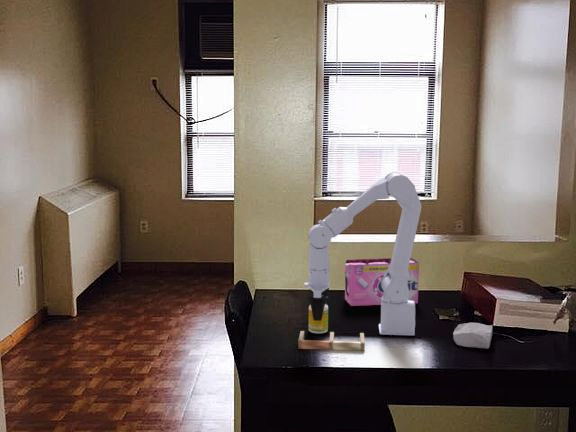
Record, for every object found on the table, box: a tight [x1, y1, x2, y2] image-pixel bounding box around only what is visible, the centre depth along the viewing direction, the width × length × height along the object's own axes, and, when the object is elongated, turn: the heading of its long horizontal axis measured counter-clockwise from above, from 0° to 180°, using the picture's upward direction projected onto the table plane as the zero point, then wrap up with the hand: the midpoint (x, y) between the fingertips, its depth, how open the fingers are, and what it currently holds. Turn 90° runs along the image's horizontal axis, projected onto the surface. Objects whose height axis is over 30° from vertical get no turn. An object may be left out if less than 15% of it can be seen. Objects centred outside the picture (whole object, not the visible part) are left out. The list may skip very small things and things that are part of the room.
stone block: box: [452, 322, 493, 350], centre depth 171 cm, size 12×5×10 cm
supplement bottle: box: [308, 303, 329, 335], centre depth 178 cm, size 5×5×10 cm
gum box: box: [344, 257, 420, 307], centre depth 206 cm, size 24×8×14 cm, turn 100°
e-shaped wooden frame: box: [297, 330, 366, 352], centre depth 167 cm, size 17×8×2 cm, turn 85°
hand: (318, 315), depth 178 cm, fingers open, 7 cm apart
